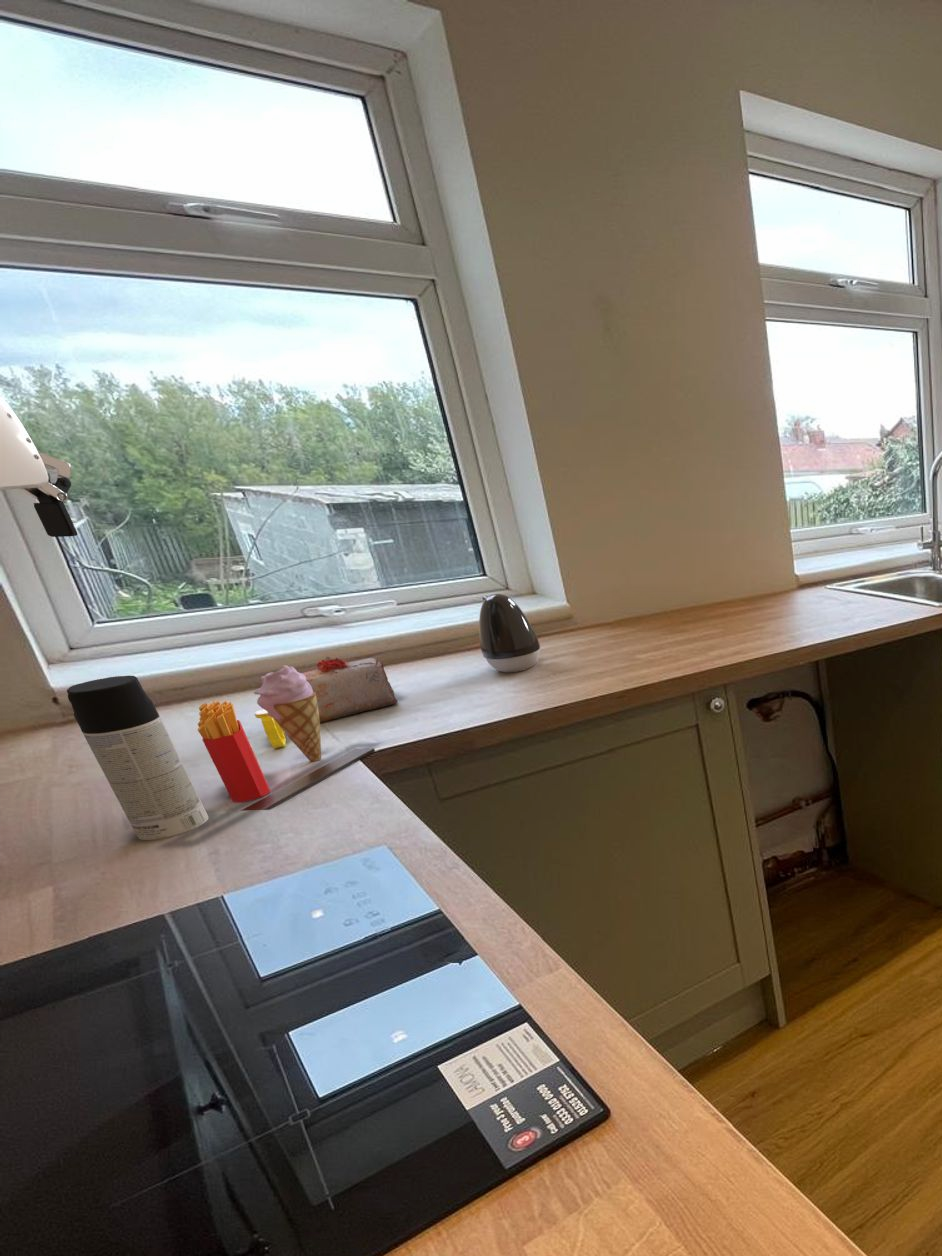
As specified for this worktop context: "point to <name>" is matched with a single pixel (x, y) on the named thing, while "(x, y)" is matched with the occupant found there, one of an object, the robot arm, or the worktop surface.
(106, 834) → the worktop surface
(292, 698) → the ice cream cone
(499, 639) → the egg-shaped speaker
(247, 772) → the french fries
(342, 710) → the food item
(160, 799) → the spray can
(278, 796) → the strip
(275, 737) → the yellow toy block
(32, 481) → the robot arm
